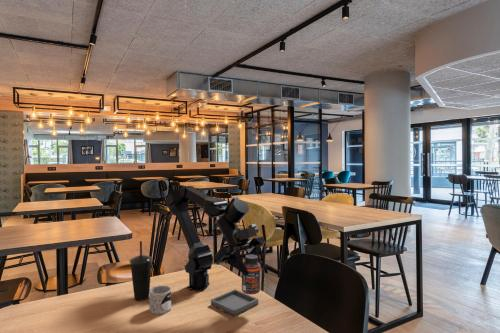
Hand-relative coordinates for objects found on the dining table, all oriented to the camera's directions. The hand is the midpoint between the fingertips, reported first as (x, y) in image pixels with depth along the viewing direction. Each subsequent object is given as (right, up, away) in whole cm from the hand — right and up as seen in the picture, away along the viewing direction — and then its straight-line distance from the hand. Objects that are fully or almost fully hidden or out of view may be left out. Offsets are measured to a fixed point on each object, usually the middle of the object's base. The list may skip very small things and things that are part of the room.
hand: (254, 271), depth 100 cm
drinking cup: (-39, -13, +12) cm, 43 cm away
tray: (-7, -13, +6) cm, 16 cm away
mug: (-30, -13, +4) cm, 33 cm away
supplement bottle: (-1, -7, +1) cm, 7 cm away
